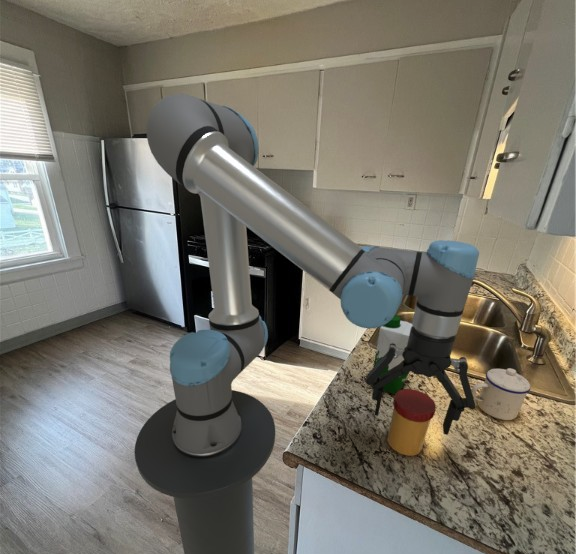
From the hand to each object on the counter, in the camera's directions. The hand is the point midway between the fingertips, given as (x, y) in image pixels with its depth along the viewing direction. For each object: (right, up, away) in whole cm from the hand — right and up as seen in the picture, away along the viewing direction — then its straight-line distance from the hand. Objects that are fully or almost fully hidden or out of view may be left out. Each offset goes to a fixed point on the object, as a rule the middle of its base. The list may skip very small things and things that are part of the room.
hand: (409, 420), depth 65 cm
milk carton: (+2, +3, +21) cm, 22 cm away
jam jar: (0, -6, +3) cm, 6 cm away
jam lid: (0, +4, -2) cm, 5 cm away
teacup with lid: (+26, -1, +14) cm, 29 cm away
